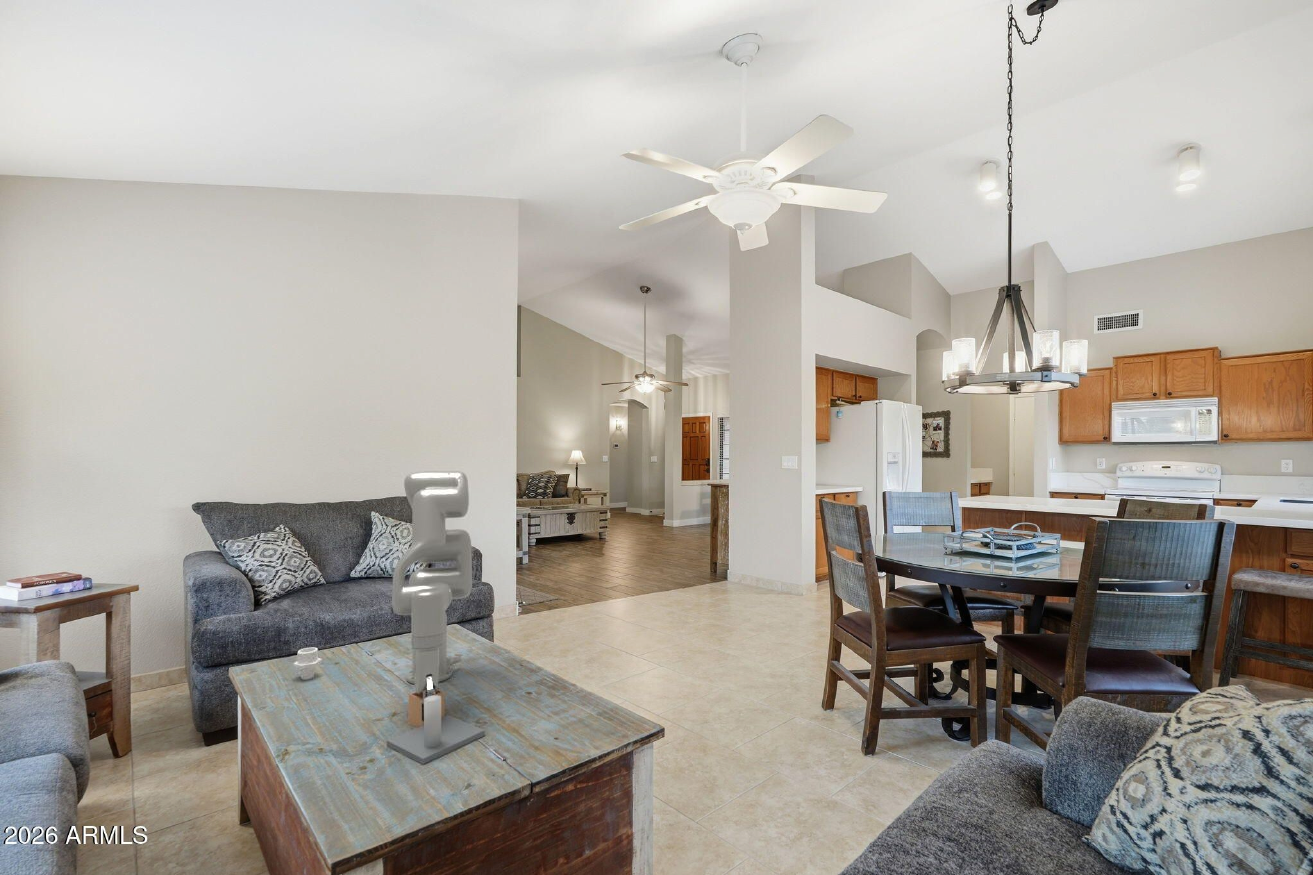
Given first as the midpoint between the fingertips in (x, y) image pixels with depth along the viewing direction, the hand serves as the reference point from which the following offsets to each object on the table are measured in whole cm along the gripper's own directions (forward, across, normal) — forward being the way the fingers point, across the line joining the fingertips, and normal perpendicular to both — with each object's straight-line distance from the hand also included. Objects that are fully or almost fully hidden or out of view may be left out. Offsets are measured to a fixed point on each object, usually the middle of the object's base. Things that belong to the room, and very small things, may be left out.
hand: (427, 712), depth 149 cm
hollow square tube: (+2, 0, 0) cm, 2 cm away
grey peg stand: (+3, +11, +1) cm, 11 cm away
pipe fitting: (+1, -46, -30) cm, 55 cm away
